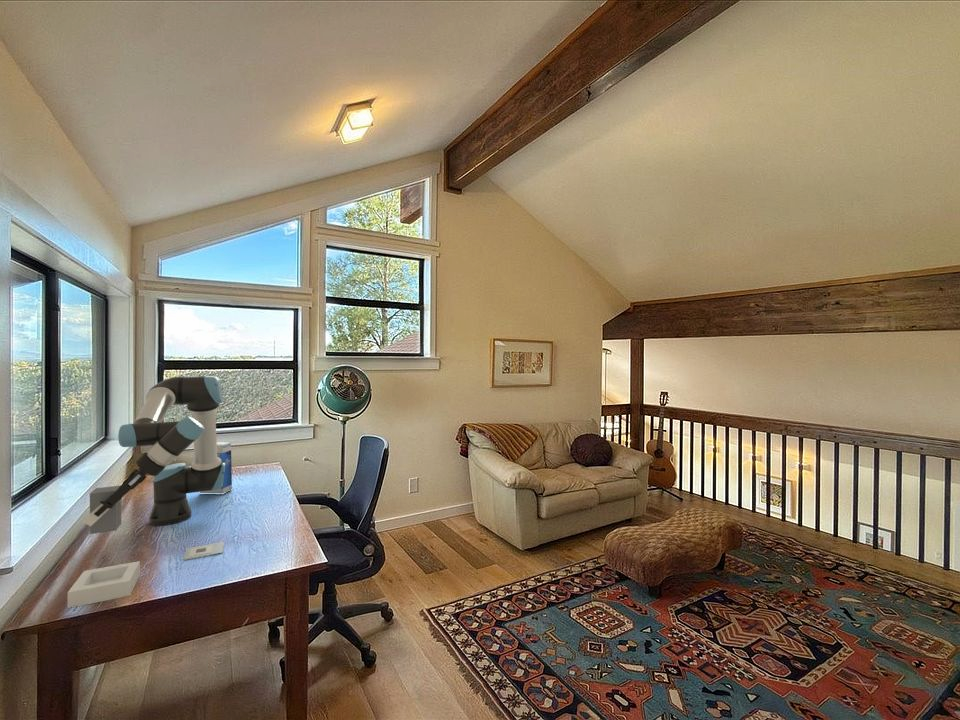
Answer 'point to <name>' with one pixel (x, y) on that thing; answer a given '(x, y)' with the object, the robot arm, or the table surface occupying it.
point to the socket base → (104, 584)
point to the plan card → (203, 550)
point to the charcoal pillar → (111, 517)
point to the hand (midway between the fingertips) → (90, 519)
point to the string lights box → (225, 457)
